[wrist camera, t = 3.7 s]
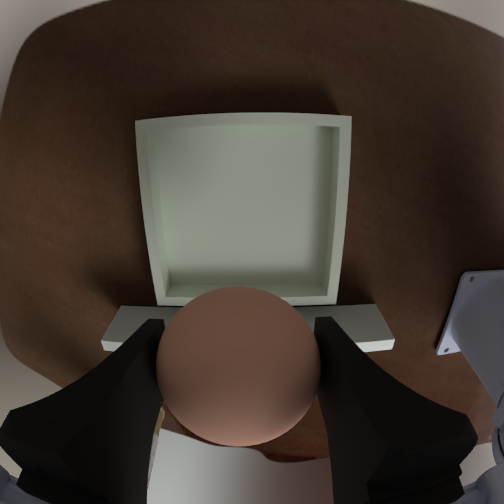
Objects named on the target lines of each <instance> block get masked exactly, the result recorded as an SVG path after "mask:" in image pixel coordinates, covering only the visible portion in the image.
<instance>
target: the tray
mask: <svg viewBox="0 0 504 504" xmlns="http://www.w3.org/2000/svg"><path fill="white" fill-rule="evenodd" d="M351 120H352V116H341V115H327V114H308V113H219V114H200V115H186V116H174V117H163V118H154V119H145V120H137V121H135V130H136V146H137V159H138V171H139V181H140V191H141V200H142V209H143V217H144V224H145V232H146V239H147V246H148V252H149V259H150V265H151V271H152V277H153V283H154V288H155V294H156V299H157V304H158V305H168V306H185V305H186V304H187V303H188V302H190V301H191V300H193V299H194V298H196V297H198V296H200V295H202V294H204V293H206V292H209V291H212V290H215V289H219V288H224V287H233V286H242V287H251V288H257V289H261V290H264V291H267V292H269V293H272V294H274V295H276V296H278V297H280V298H281V299H283V300H285V301H286V302H288V303H289V304H290V305H292V306H293V305H325V304H336V300H337V293H338V285H339V278H340V270H341V261H342V253H343V244H344V234H345V224H346V212H347V200H348V186H349V171H350V151H351Z"/></svg>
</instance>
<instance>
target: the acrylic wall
mask: <svg viewBox="0 0 504 504" xmlns="http://www.w3.org/2000/svg"><path fill="white" fill-rule="evenodd" d="M294 308H295V309H296V310H297V311H298V312H299V313H300V314H301V315H302V316H303V318H304V319H305V320H306V322H307V323H308V325H309V326H310V328H311V330H312V332H313V333H314V324H315V317H327V316H331V317H332V318H333V319H334V320H335V321H336V322H337V323H338V324H339V326H340V327H341V328H342V329H343V330H344V331H345V332H346V334H347V335H348V336H349V337H350V338H351V339H352V340H353V341H354V342H355V343H356V344H357V346H358V347H359V348H360V349H361V350H362V351H363V352H369V351H379V350H388V349H392V347H393V344H394V341H395V339H394V337H393V335H392V333H391V331H390V329H389V327H388V326H387V324H386V322H385V320H384V318H383V316H382V315H381V313H380V311H379V309H378V308H377V306H376V304H363V305H344V306H319V307H294ZM180 309H181V308H177V307H143V306H121V307H120V308H119V310H118V312H117V314H116V315H115V317H114V319H113V320H112V322H111V324H110V326H109V327H108V329H107V331H106V332H105V334H104V336H103V338H102V340H101V342H102V345H103V348H104V350H107V351H115V350H116V349H117V348H118V347H120V346H121V345H122V344H123V343H124V342H125V341H126V340H127V339H128V338H129V337H130V336H131V335H132V334H133V333H134V332H135V331H136V330H137V329H138V328H139V327H140V326H141V325H142V324H143V323H144V322H145V321H147V320H148V319H164V324H165V328H166V327H167V325H168V323H169V322H170V321H171V319H172V318H173V317H174V315H175V314H176V313H177V312H178V311H179V310H180Z"/></svg>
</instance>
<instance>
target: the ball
mask: <svg viewBox="0 0 504 504" xmlns="http://www.w3.org/2000/svg"><path fill="white" fill-rule="evenodd" d="M156 374H157V381H158V385H159V389H160V391H161V394H162V397H163V399H164V401H165V403H166V405H167V406H168V408H169V409H170V411H171V412H172V414H173V415H174V416H175V417H176V418H177V419H178V420H179V422H180V423H181V424H182V425H184V426H185V427H186V428H187V429H189V430H190V431H192V432H193V433H195V434H196V435H198V436H200V437H202V438H204V439H206V440H209V441H212V442H215V443H218V444H222V445H228V446H250V445H256V444H260V443H263V442H267V441H270V440H272V439H274V438H276V437H278V436H280V435H282V434H283V433H285V432H287V431H288V430H289V429H291V428H292V427H293V426H294V425H295V424H296V423H297V422H298V421H299V420H300V419H301V418H302V417H303V416H304V414H305V413H306V412H307V410H308V409H309V407H310V406H311V404H312V402H313V400H314V397H315V395H316V393H317V389H318V386H319V382H320V374H321V360H320V352H319V347H318V344H317V341H316V339H315V336H314V334H313V332H312V330H311V328H310V326H309V325H308V323H307V322H306V320H305V319H304V318H303V316H302V315H301V314H300V313H299V312H298V311H297V310H296V309H295V308H294V307H293V306H292V305H290V304H289V303H288V302H286V301H285V300H283V299H281V298H280V297H278V296H276V295H274V294H272V293H269V292H267V291H264V290H261V289H257V288H251V287H242V286H233V287H224V288H219V289H215V290H212V291H209V292H206V293H204V294H202V295H200V296H198V297H196V298H194V299H193V300H191V301H190V302H188V303H187V304H186V305H185V306H183V307H182V308H181V309H180V310H179V311H178V312H177V313H176V314H175V315H174V317H173V318H172V319H171V321H170V322H169V323H168V325H167V327H166V328H165V330H164V333H163V335H162V337H161V340H160V342H159V346H158V351H157V357H156Z"/></svg>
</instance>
